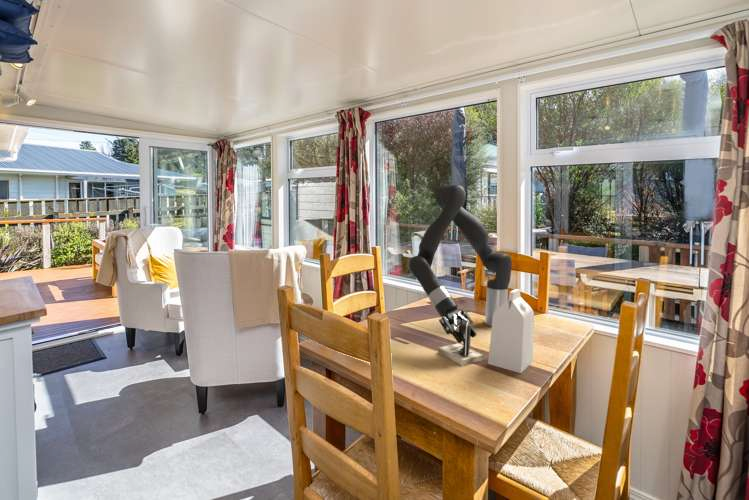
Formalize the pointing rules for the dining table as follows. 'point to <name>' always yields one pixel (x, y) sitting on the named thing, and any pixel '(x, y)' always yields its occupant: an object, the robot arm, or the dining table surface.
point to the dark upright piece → (465, 337)
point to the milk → (512, 334)
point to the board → (454, 355)
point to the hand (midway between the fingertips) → (468, 339)
